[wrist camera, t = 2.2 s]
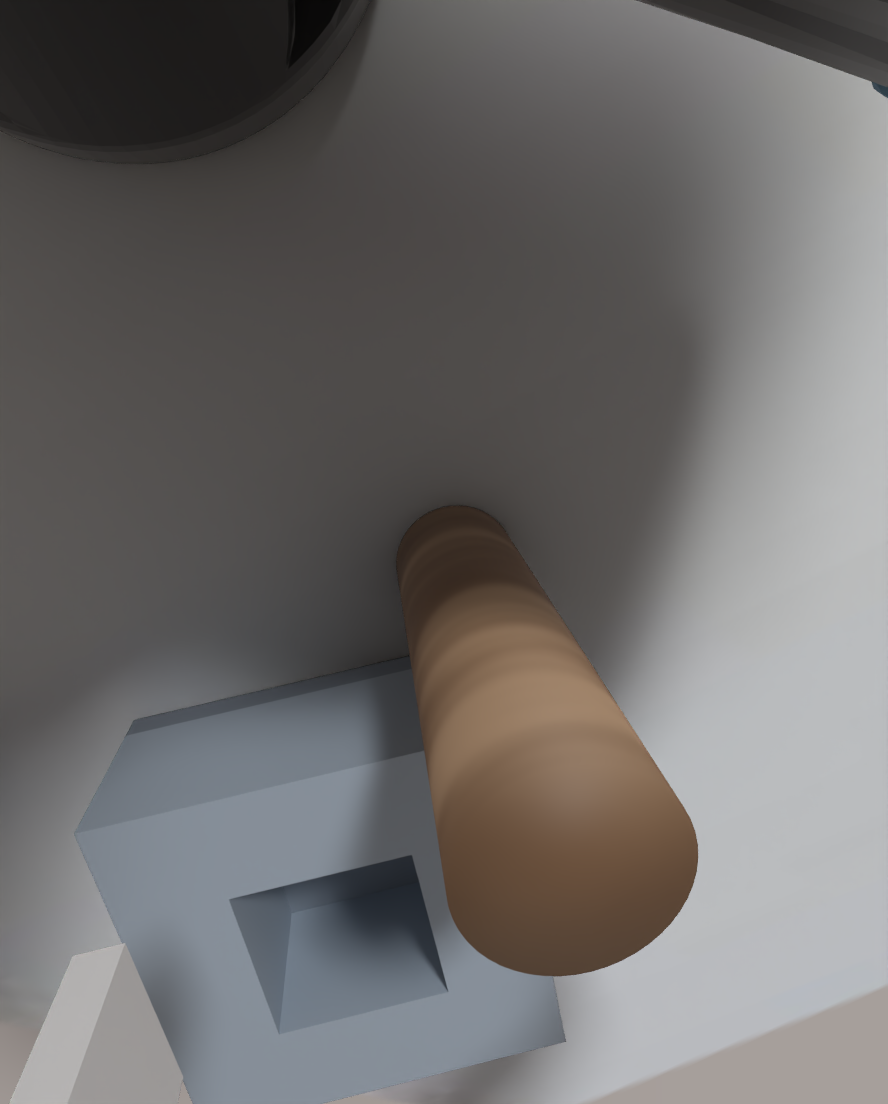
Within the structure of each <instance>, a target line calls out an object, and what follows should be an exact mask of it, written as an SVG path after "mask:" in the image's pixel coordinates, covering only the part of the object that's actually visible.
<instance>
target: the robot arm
mask: <svg viewBox="0 0 888 1104" xmlns="http://www.w3.org/2000/svg"><path fill="white" fill-rule="evenodd" d="M636 1H640V2H643V3H646V4H649V5H652V6H655V7H658V8H661V9H664V10H667V11H670V12H673V13H676V14H679V15H682V16H685V17H688V18H691V19H694V20H697V21H700V22H703V23H706V24H709V25H713V26H716V27H719V28H722V29H725V30H728V31H731V32H734V33H737V34H740V35H743V36H746V37H749V38H752V39H754V40H757V41H760V42H763V43H766V44H768V45H771V46H774V47H777V48H780V49H782V50H785V51H788V52H791V53H793V54H796V55H799V56H802V57H805V58H807V59H810V60H813V61H816V62H818V63H821V64H824V65H827V66H830V67H832V68H835V69H838V70H841V71H844V72H846V73H849V74H852V75H855V76H857V77H860V78H863V79H866V80H869V81H871V82H872V85H873V88H874V89H875V90H876V91H878V92H879V93H881V94H882V95H883V96H885V97H887V98H888V0H636ZM369 2H370V0H0V131H2V132H5V133H7V134H9V135H11V136H13V137H15V138H17V139H20V140H22V141H25V142H28V143H30V144H33V145H35V146H38V147H41V148H44V149H47V150H50V151H54V152H57V153H60V154H64V155H68V156H73V157H77V158H81V159H87V160H94V161H100V162H109V163H122V164H148V163H161V162H170V161H176V160H182V159H188V158H192V157H196V156H200V155H204V154H207V153H210V152H213V151H216V150H219V149H222V148H225V147H227V146H229V145H232V144H234V143H236V142H239V141H241V140H243V139H245V138H247V137H249V136H251V135H252V134H254V133H256V132H258V131H260V130H262V129H263V128H265V127H266V126H268V125H269V124H271V123H272V122H274V121H275V120H277V119H278V118H280V117H281V116H282V115H284V114H285V113H286V112H287V111H289V110H290V109H291V108H292V107H294V106H295V105H296V104H297V103H298V102H299V101H300V100H301V99H302V98H304V97H305V96H306V95H307V94H308V93H309V92H310V91H311V90H312V89H313V88H314V87H315V86H316V84H317V83H318V82H319V81H320V80H321V79H322V78H323V77H324V76H325V74H326V73H327V72H328V71H329V69H330V68H331V67H332V65H333V64H334V63H335V62H336V60H337V59H338V58H339V56H340V55H341V53H342V52H343V50H344V49H345V47H346V45H347V44H348V42H349V41H350V39H351V38H352V36H353V34H354V32H355V30H356V29H357V27H358V25H359V23H360V21H361V20H362V17H363V15H364V13H365V11H366V9H367V7H368V4H369ZM182 1081H183V1075H182V1073H181V1070H180V1068H179V1066H178V1064H177V1061H176V1059H175V1057H174V1054H173V1052H172V1050H171V1047H170V1045H169V1043H168V1041H167V1038H166V1036H165V1034H164V1031H163V1029H162V1027H161V1024H160V1022H159V1020H158V1017H157V1015H156V1013H155V1011H154V1008H153V1006H152V1004H151V1001H150V999H149V997H148V994H147V992H146V990H145V988H144V985H143V983H142V981H141V978H140V976H139V974H138V971H137V969H136V967H135V965H134V962H133V960H132V958H131V955H130V953H129V951H128V948H127V946H126V944H125V943H123V944H119V945H115V946H111V947H107V948H102V949H98V950H94V951H90V952H86V953H82V954H78V955H74V956H72V959H71V961H70V963H69V966H68V968H67V970H66V973H65V975H64V977H63V980H62V982H61V984H60V987H59V989H58V991H57V993H56V996H55V998H54V1000H53V1003H52V1005H51V1007H50V1010H49V1012H48V1014H47V1017H46V1019H45V1021H44V1023H43V1026H42V1028H41V1030H40V1033H39V1035H38V1038H37V1040H36V1042H35V1044H34V1047H33V1049H32V1051H31V1054H30V1056H29V1058H28V1060H27V1063H26V1065H25V1067H24V1070H23V1072H22V1074H21V1077H20V1079H19V1081H18V1084H17V1086H16V1088H15V1090H14V1093H13V1095H12V1097H11V1100H10V1102H9V1104H177V1103H178V1099H179V1094H180V1090H181V1085H182Z"/></svg>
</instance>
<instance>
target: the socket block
mask: <svg viewBox="0 0 888 1104" xmlns="http://www.w3.org/2000/svg"><path fill="white" fill-rule="evenodd" d="M74 835H75V837H76V840H77V842H78V844H79V847H80V849H81V851H82V853H83V856H84V858H85V860H86V862H87V865H88V867H89V869H90V871H91V874H92V876H93V878H94V881H95V883H96V885H97V887H98V890H99V892H100V894H101V896H102V899H103V901H104V903H105V905H106V908H107V910H108V912H109V915H110V917H111V919H112V921H113V924H114V926H115V928H116V930H117V933H118V935H119V937H120V939H121V942H122V944H123V943H125V944H126V946H127V948H128V951H129V953H130V955H131V958H132V960H133V962H134V965H135V967H136V969H137V971H138V974H139V976H140V978H141V981H142V983H143V985H144V988H145V990H146V992H147V994H148V997H149V999H150V1001H151V1004H152V1006H153V1008H154V1011H155V1013H156V1015H157V1017H158V1020H159V1022H160V1024H161V1027H162V1029H163V1031H164V1034H165V1036H166V1038H167V1041H168V1043H169V1045H170V1047H171V1050H172V1052H173V1054H174V1057H175V1059H176V1061H177V1064H178V1066H179V1068H180V1070H181V1073H182V1075H183V1082H184V1084H185V1086H186V1089H187V1091H188V1094H189V1096H190V1098H191V1100H192V1103H193V1104H323V1103H327V1102H330V1101H335V1100H339V1099H343V1098H346V1097H350V1096H354V1095H358V1094H362V1093H366V1092H370V1091H374V1090H378V1089H382V1088H386V1087H390V1086H394V1085H397V1084H401V1083H405V1082H409V1081H413V1080H417V1079H421V1078H425V1077H429V1076H433V1075H437V1074H441V1073H445V1072H448V1071H452V1070H456V1069H460V1068H464V1067H468V1066H472V1065H476V1064H480V1063H484V1062H488V1061H492V1060H495V1059H499V1058H503V1057H507V1056H511V1055H515V1054H519V1053H523V1052H527V1051H531V1050H535V1049H539V1048H543V1047H546V1046H550V1045H554V1044H558V1043H562V1042H566V1039H565V1035H564V1030H563V1025H562V1020H561V1015H560V1010H559V1005H558V1000H557V995H556V991H555V986H554V981H553V976H540V975H531V974H526V973H522V972H518V971H514V970H511V969H508V968H506V967H503V966H500V965H499V964H497V963H495V962H493V961H491V960H489V959H487V958H486V957H485V956H483V955H482V954H480V953H479V952H478V951H476V950H475V949H474V948H473V947H472V946H471V945H470V944H469V943H468V942H467V941H466V940H465V938H464V937H463V936H462V934H461V933H460V932H459V930H458V928H457V926H456V925H455V923H454V921H453V919H452V916H451V913H450V910H449V907H448V902H447V896H446V890H445V884H444V877H443V871H442V864H441V857H440V851H439V844H438V838H437V831H436V825H435V818H434V811H433V805H432V798H431V792H430V785H429V779H428V772H427V766H426V759H425V752H424V746H423V739H422V733H421V726H420V720H419V713H418V707H417V700H416V693H415V687H414V680H413V674H412V667H411V661H410V656H407V657H403V658H399V659H394V660H390V661H386V662H381V663H377V664H373V665H369V666H364V667H360V668H356V669H351V670H347V671H343V672H339V673H334V674H330V675H326V676H321V677H317V678H313V679H309V680H304V681H300V682H296V683H291V684H287V685H283V686H279V687H274V688H270V689H266V690H261V691H257V692H253V693H249V694H244V695H240V696H236V697H231V698H227V699H223V700H219V701H214V702H210V703H206V704H202V705H197V706H193V707H189V708H184V709H180V710H176V711H172V712H167V713H163V714H159V715H154V716H150V717H146V718H142V719H137V720H134V721H133V723H132V725H131V727H130V729H129V731H128V733H127V735H126V736H125V738H124V740H123V742H122V744H121V746H120V748H119V750H118V752H117V754H116V755H115V757H114V759H113V761H112V763H111V765H110V767H109V769H108V771H107V773H106V774H105V776H104V778H103V780H102V782H101V784H100V786H99V788H98V790H97V792H96V793H95V795H94V797H93V799H92V801H91V803H90V805H89V807H88V809H87V811H86V812H85V814H84V816H83V818H82V820H81V822H80V824H79V826H78V828H77V830H76V831H75V833H74Z"/></svg>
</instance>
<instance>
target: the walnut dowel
mask: <svg viewBox="0 0 888 1104" xmlns="http://www.w3.org/2000/svg"><path fill="white" fill-rule="evenodd" d="M396 569H397V575H398V582H399V588H400V595H401V602H402V608H403V615H404V621H405V628H406V634H407V641H408V647H409V654H410V661H411V667H412V674H413V680H414V687H415V693H416V700H417V707H418V713H419V720H420V726H421V733H422V739H423V746H424V752H425V759H426V766H427V772H428V779H429V785H430V792H431V798H432V805H433V811H434V818H435V825H436V831H437V838H438V844H439V851H440V857H441V864H442V871H443V877H444V884H445V890H446V896H447V902H448V907H449V910H450V913H451V916H452V919H453V921H454V923H455V925H456V926H457V928H458V930H459V932H460V933H461V934H462V936H463V937H464V938H465V940H466V941H467V942H468V943H469V944H470V945H471V946H472V947H473V948H474V949H475V950H476V951H478V952H479V953H480V954H482V955H483V956H485V957H486V958H487V959H489V960H491V961H493V962H495V963H497V964H499V965H500V966H503V967H506V968H508V969H511V970H514V971H518V972H522V973H526V974H531V975H540V976H567V975H577V974H582V973H587V972H592V971H595V970H598V969H601V968H605V967H608V966H610V965H612V964H615V963H617V962H619V961H622V960H624V959H625V958H627V957H629V956H631V955H633V954H635V953H636V952H638V951H639V950H641V949H642V948H644V947H645V946H647V945H648V944H649V943H651V942H652V941H653V940H654V939H655V938H656V937H658V936H659V935H660V934H661V933H662V932H663V931H664V930H665V929H666V928H667V927H668V926H669V925H670V924H671V922H672V921H673V920H674V918H675V917H676V916H677V914H678V913H679V912H680V910H681V909H682V907H683V905H684V903H685V902H686V900H687V898H688V896H689V893H690V891H691V889H692V886H693V883H694V879H695V876H696V872H697V864H698V844H697V839H696V834H695V830H694V827H693V825H692V822H691V819H690V817H689V816H688V814H687V812H686V810H685V809H684V807H683V805H682V804H681V802H680V801H679V799H678V798H677V796H676V795H675V793H674V791H673V790H672V788H671V787H670V785H669V784H668V782H667V781H666V779H665V777H664V776H663V774H662V773H661V771H660V770H659V768H658V767H657V765H656V764H655V762H654V760H653V759H652V757H651V756H650V754H649V753H648V751H647V750H646V748H645V747H644V745H643V743H642V742H641V740H640V739H639V737H638V736H637V734H636V733H635V731H634V729H633V728H632V726H631V725H630V723H629V722H628V720H627V719H626V717H625V716H624V714H623V712H622V711H621V709H620V708H619V706H618V705H617V703H616V702H615V700H614V699H613V697H612V695H611V694H610V692H609V691H608V689H607V688H606V686H605V685H604V683H603V682H602V680H601V678H600V677H599V675H598V674H597V672H596V671H595V669H594V668H593V666H592V664H591V663H590V661H589V660H588V658H587V657H586V655H585V654H584V652H583V651H582V649H581V647H580V646H579V644H578V643H577V641H576V640H575V638H574V637H573V635H572V634H571V632H570V630H569V629H568V627H567V626H566V624H565V623H564V621H563V620H562V618H561V617H560V615H559V613H558V612H557V610H556V609H555V607H554V606H553V604H552V603H551V601H550V599H549V598H548V596H547V595H546V593H545V592H544V590H543V589H542V587H541V586H540V584H539V582H538V581H537V579H536V578H535V576H534V575H533V573H532V572H531V570H530V569H529V567H528V565H527V564H526V562H525V561H524V559H523V558H522V556H521V555H520V553H519V551H518V550H517V548H516V547H515V545H514V544H513V542H512V541H511V539H510V538H509V536H508V534H507V533H506V531H505V530H504V529H503V527H502V526H501V525H500V524H499V523H498V522H497V521H496V520H495V519H494V518H493V517H491V516H490V515H489V514H487V513H485V512H483V511H481V510H478V509H476V508H472V507H468V506H447V507H442V508H439V509H436V510H433V511H431V512H429V513H427V514H425V515H424V516H422V517H421V518H419V519H418V520H417V521H416V522H415V523H414V524H413V525H412V526H411V527H410V528H409V529H408V531H407V532H406V533H405V535H404V537H403V539H402V541H401V543H400V546H399V549H398V553H397V560H396Z"/></svg>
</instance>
